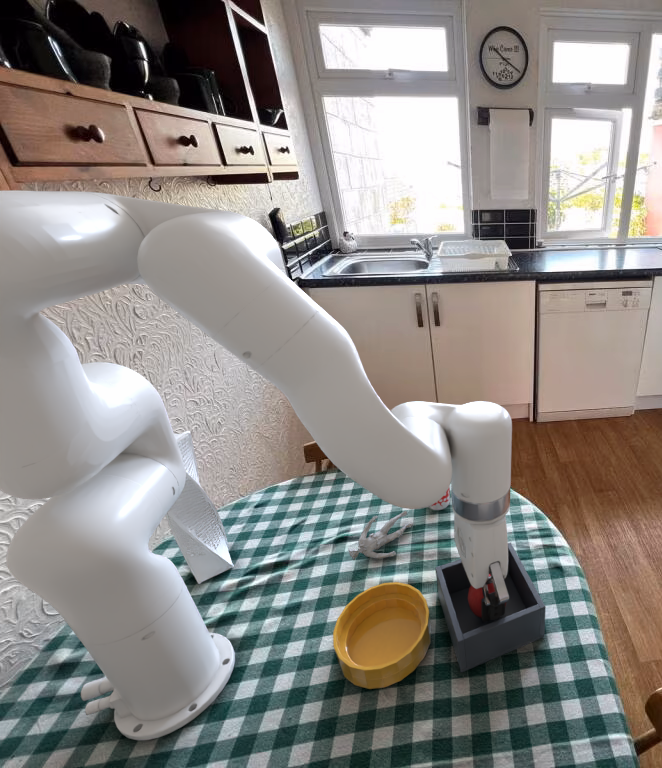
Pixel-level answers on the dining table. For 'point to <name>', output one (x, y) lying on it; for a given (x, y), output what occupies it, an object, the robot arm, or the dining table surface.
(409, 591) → the bowl
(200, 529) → the skyscraper
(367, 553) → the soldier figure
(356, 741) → the dining table surface
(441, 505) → the beverage cup
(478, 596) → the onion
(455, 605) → the bin
